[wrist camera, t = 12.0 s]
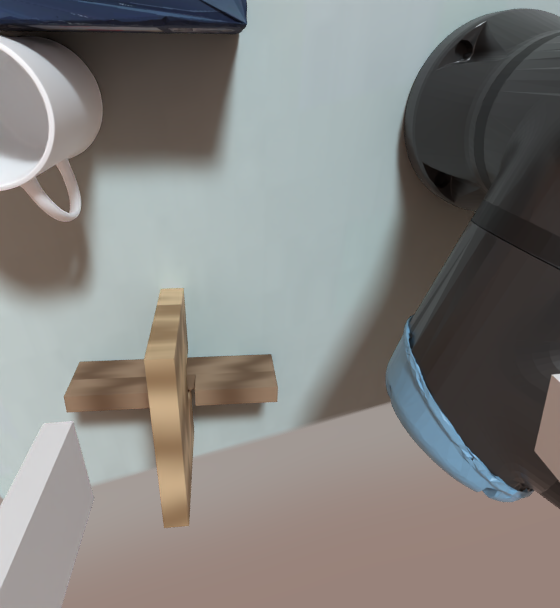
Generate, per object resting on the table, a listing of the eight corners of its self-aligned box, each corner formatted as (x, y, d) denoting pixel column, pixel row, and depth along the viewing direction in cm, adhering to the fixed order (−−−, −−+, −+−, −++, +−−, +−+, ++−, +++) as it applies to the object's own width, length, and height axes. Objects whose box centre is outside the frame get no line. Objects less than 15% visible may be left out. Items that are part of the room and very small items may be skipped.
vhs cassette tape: (-24, 31, 35) (-106, 19, 26) (-34, -19, 33) (-124, -50, 24) (240, 42, 37) (249, 35, 28) (240, -4, 36) (249, -28, 27)
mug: (137, 183, 40) (109, 225, 29) (36, 213, 40) (-28, 266, 29) (73, 21, 35) (10, 0, 24) (-43, 55, 35) (-157, 50, 24)
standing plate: (271, 354, 49) (277, 386, 44) (270, 368, 49) (277, 401, 44) (79, 361, 46) (63, 396, 41) (82, 376, 47) (66, 412, 42)
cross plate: (194, 429, 51) (188, 525, 41) (174, 431, 51) (164, 528, 40) (183, 288, 45) (174, 358, 34) (160, 288, 44) (143, 359, 34)
